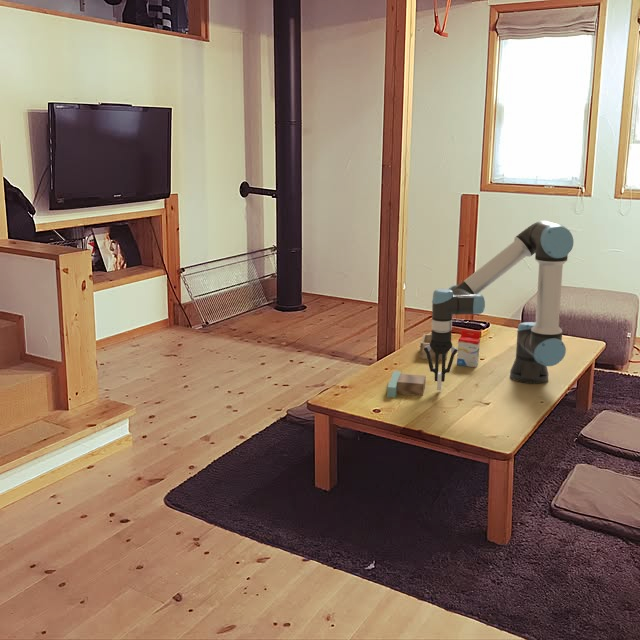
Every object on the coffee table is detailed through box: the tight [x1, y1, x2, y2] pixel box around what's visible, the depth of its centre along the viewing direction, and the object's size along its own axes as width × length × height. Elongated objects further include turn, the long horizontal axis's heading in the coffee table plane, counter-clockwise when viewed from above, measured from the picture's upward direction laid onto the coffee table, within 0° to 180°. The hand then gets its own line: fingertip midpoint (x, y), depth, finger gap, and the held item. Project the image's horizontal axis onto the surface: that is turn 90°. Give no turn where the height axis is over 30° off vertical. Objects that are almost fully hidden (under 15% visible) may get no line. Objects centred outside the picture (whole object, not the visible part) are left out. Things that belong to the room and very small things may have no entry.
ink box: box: [456, 329, 481, 368], centre depth 335 cm, size 8×5×15 cm, turn 68°
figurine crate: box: [419, 333, 449, 361], centre depth 350 cm, size 12×16×7 cm
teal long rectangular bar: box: [386, 370, 402, 399], centre depth 305 cm, size 3×20×4 cm, turn 168°
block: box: [396, 373, 427, 396], centre depth 304 cm, size 10×10×5 cm
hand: (439, 389), depth 302 cm, fingers closed
